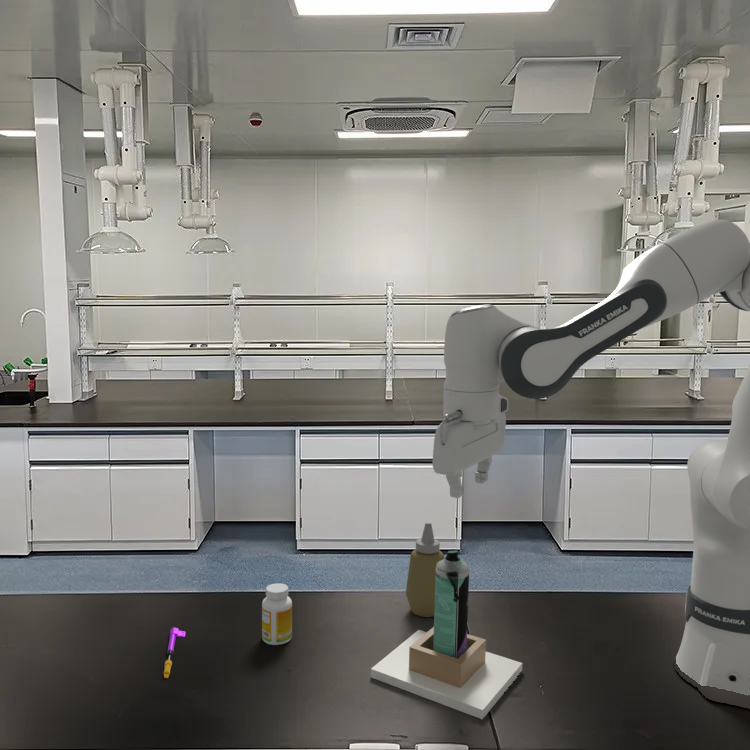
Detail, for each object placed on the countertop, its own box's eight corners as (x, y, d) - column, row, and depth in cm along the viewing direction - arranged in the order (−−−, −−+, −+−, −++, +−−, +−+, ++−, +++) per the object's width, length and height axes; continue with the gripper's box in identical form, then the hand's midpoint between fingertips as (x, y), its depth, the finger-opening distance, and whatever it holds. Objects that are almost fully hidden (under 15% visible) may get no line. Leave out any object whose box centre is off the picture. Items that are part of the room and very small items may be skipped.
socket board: (521, 671, 120) (523, 640, 120) (482, 719, 107) (483, 685, 106) (418, 637, 131) (419, 609, 130) (370, 677, 118) (371, 645, 117)
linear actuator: (170, 631, 132) (161, 680, 116) (171, 625, 132) (163, 673, 116) (184, 633, 132) (178, 682, 117) (186, 628, 132) (179, 675, 117)
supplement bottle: (294, 632, 132) (295, 582, 131) (288, 647, 127) (288, 595, 126) (266, 630, 133) (266, 580, 131) (258, 644, 128) (258, 593, 126)
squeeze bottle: (399, 605, 144) (401, 519, 142) (435, 599, 147) (438, 515, 144) (415, 623, 136) (417, 532, 134) (453, 617, 139) (456, 528, 137)
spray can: (471, 672, 117) (476, 555, 114) (441, 677, 115) (444, 559, 113) (456, 655, 122) (460, 543, 120) (427, 660, 120) (430, 546, 118)
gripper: (460, 418, 105) (459, 509, 107) (512, 398, 122) (510, 477, 124) (422, 414, 108) (422, 502, 110) (478, 395, 125) (477, 472, 127)
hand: (469, 489), depth 117 cm, fingers open, 8 cm apart
